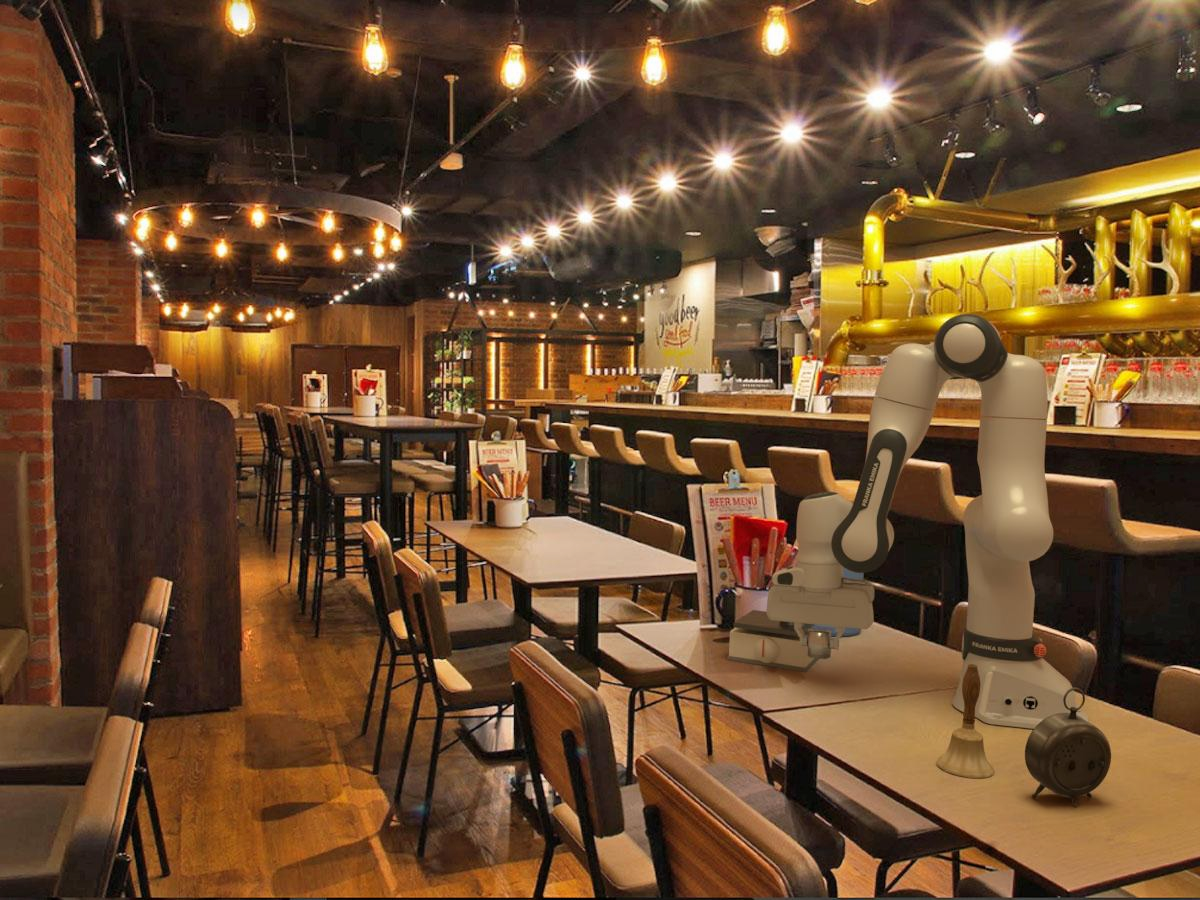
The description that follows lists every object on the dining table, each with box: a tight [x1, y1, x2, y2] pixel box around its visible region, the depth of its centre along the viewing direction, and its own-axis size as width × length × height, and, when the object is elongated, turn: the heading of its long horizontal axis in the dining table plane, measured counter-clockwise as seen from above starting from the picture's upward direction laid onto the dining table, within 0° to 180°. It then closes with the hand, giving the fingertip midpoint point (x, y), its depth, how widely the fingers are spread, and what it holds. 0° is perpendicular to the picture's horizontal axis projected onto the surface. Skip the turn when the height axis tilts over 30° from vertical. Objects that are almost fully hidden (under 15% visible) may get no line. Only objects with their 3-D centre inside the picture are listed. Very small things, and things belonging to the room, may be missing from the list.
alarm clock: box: [1024, 687, 1112, 808], centre depth 139 cm, size 11×5×16 cm, turn 99°
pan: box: [733, 609, 815, 636], centre depth 209 cm, size 14×14×2 cm
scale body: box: [726, 627, 819, 673], centre depth 209 cm, size 17×13×6 cm
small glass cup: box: [808, 628, 832, 660], centre depth 193 cm, size 4×4×5 cm
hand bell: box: [936, 664, 995, 779], centre depth 151 cm, size 8×8×16 cm
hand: (819, 646), depth 193 cm, fingers closed on small glass cup, 4 cm apart
